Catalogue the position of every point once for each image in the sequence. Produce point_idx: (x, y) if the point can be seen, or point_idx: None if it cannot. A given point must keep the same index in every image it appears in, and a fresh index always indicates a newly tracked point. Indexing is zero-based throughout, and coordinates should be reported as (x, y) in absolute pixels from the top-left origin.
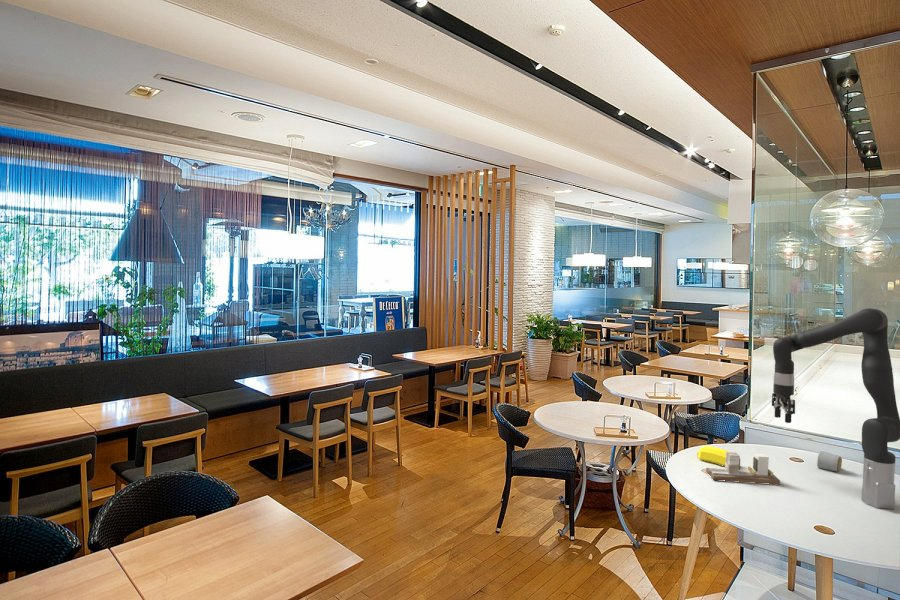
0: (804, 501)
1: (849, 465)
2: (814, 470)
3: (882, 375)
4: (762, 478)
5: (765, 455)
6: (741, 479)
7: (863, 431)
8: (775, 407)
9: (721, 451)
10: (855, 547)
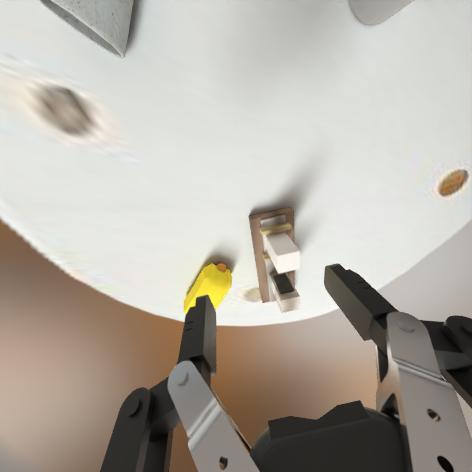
0: (360, 182)
1: None
2: (153, 82)
3: None
4: (290, 237)
5: (288, 255)
6: None
7: None
8: (215, 394)
9: (217, 300)
10: None
